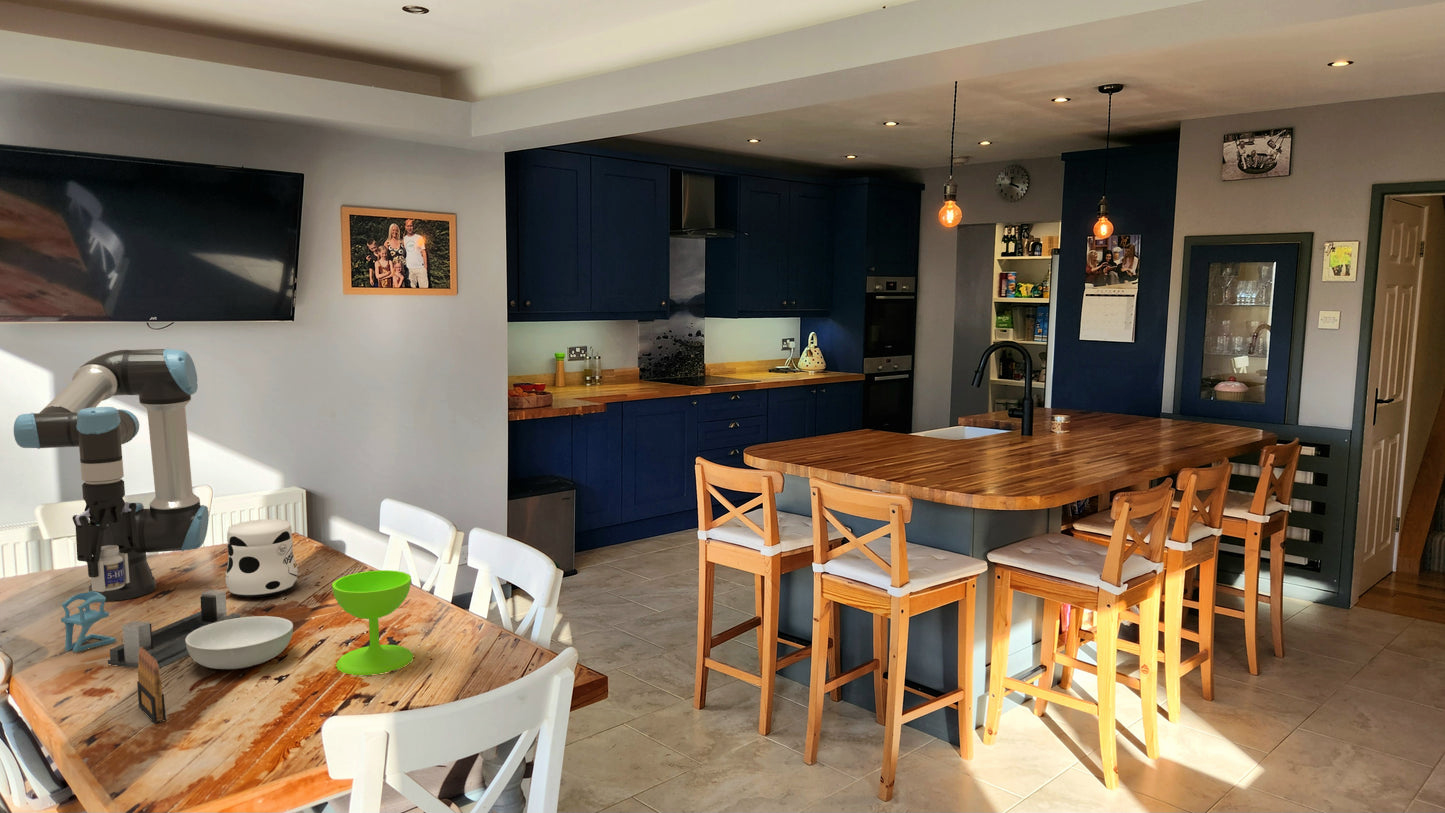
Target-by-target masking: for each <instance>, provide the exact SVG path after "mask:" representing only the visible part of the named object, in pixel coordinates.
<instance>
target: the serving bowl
mask: <svg viewBox="0 0 1445 813" xmlns="http://www.w3.org/2000/svg"><path fill="white" fill-rule="evenodd" d="M293 631H294V624H293V622H292V621H291V620H290V619H287V618H284V617H278V616H268V615H267V616H266V615H264V616H261V615H260V616H257V615H255V616H243V617H240V618H235V619H229V620H224V621H220V622H216V623H212V624H209V625H206V626H203V627H201V628H198V629H196V630H194V631H193V632H191V633H190V634H189V635H188V636H187V637H186V639H185V643H186V647H187V650H188V653H189V656H190V657H191V658H192V659H193V660H194V661H195V662H196V663H198V665H200V666H202V667H206V668H209V669H217V670H239V669H246V668H250V667H254V666H256V665H260V664H263V663H265V662H268V661H269V660H272V659H273V658H275V657H277V656H278V655H280V654H281V653H282V652H283V651H284V650H285V649H286V648H287V647H288V645H289V644H290V642H291V640H292V636H293ZM253 665H254V666H253Z"/></svg>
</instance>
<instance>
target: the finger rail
mask: <svg viewBox="0 0 1445 813" xmlns="http://www.w3.org/2000/svg"><path fill="white" fill-rule="evenodd" d="M199 600H200V611H198V612H195V613H194V614H190V615H188V616H186V617H183V618H181V619H179V620H176V621H174V622H171V623H170V624H168V625H165V626H162V627H159V628H158V629H155V630H153V631H152V629H153V628H152V623H150V621H141V620H140V621H139V620H133V621H129V622H127V623H125V624H122V627H121V628H122V639H123V641H122V642H123V643H122V644H120V645H117V646H115V647H112V648H110V649H109V658H110V659H108V660H107V665H108V664H111V665H110V666H112V665H117V666H116V667H121V666H124V668H129V667H133V668H132V669H137V668H138V655H139V649H140V647H142V648H143V649H145V651H147V652H148V654H150V655H151V657H153V658H154V659H156V661H157V663H158V666H159V669H161V668H163V667H165V666H167V665H169V664H172V663H174V662H175V660H176V661H178V660H180V659H182V658H184V657H186V656H188V654H189V653H188V650H187V647H186V643H185V639H186V637H187V636H188V635H189V634H190V633H191V632H193V631H194V630H196V629H198V628H201V627H203V626H206V625H209V624H212V623H216V622H220V621H224V620H229V619H235V618H241V614H240V613H233V612H232V613H231V614H228V612H227V597H226V591H225V590H217V589H210V590H209V589H208V590H207V591H205V592H204V591H203V592H202V593H201V596H200V599H199ZM227 614H228V615H227ZM179 658H180V659H179ZM177 659H178V660H177ZM173 661H174V662H173ZM171 662H172V663H171ZM162 666H163V667H162ZM160 667H161V668H160Z"/></svg>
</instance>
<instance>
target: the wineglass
mask: <svg viewBox="0 0 1445 813" xmlns="http://www.w3.org/2000/svg"><path fill="white" fill-rule="evenodd" d="M411 582H412V576H411V575H410V574H408V573H406V572H404V571H398V570H389V569H388V570H387V569H385V570H383V569H380V570H367V571H362V572H361V571H360V572H356V573H355V572H354V573H352V574H347V575H344V576H342V577H340V578H337V579H336V580H334V582H332V584H331V585H332V586H331V588H332V593H333V597H334V599H335V600H336V602H337V605H339V607H341V608H342V610H343V611H345V612H346V613H347V614H348V615H351V616H353V617H355V618H358V619H365V620H368V628H369V629H368V630H369V631H368V632H369V645H368V646H362V647H359V648H356V649H353V650H351V651H348V652H346V653H345V654H343V655H342V656H341V657H340V658H339V659H338V660H337V662H336V664H335V668H336V667H337V669H338V670H339V671H341V672H343V673H347V674H353V675H372V674H380V673H385V672H389V671H392V670H396V669H399V668H401V667H404V666H405V665H407V664H408V663H410V662H411V661H412V659H413V655H414V653H413V652H412V651H411V650H410V649H409V648H407V647H404V646H403V645H398V644H380V632H379V631H380V627H379V626H380V625H379V618H383V617H386V616H388V615H390V614H392V613H393V612H395V611H396V610H397V609H398V608H400V606H402V604H403V603H404V601H405V600H406V598H407V597H408V594H409V592H410V589H411ZM413 660H414V659H413ZM412 662H413V661H412ZM412 662H411V663H412ZM411 663H410V664H411ZM404 668H405V667H404ZM337 669H336V670H337ZM338 670H337V671H338ZM339 671H338V672H339ZM341 672H340V673H341Z"/></svg>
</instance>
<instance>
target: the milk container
mask: <svg viewBox="0 0 1445 813" xmlns="http://www.w3.org/2000/svg"><path fill="white" fill-rule="evenodd" d="M292 532H293V528H292V524H291V521H288V520H287V519H286V520H285V519H281V518H280V519H279V518H277V519H275V518H267V519H255V520H249V521H248V520H247V521H243V522H239V523H235V524H232V525H230V526H229V527H228V528H227V532H226V533H227V534H226V541H227V545H226V546H227V556H228V557H227V560H228V561H227V566H226V571H225V575H224V576H225V577H224V578H225V584H226V588H227V591H228V592H229V593H230V594H232V595H234V596H237V597H242V598H262V597H267V596H269V597H271V596H274V595H277V594H281V593H284V592H287V591H289V590H290V589H292V587H294V586H295V585H296V583H297V581H298V576H299V575H298V574H299V573H298V572H299V571H298V565H297V562H296V559H295V556H294V548H293V546H294V545H293V543H294V542H293V539H294V538H293V536H292V534H293V533H292Z"/></svg>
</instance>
